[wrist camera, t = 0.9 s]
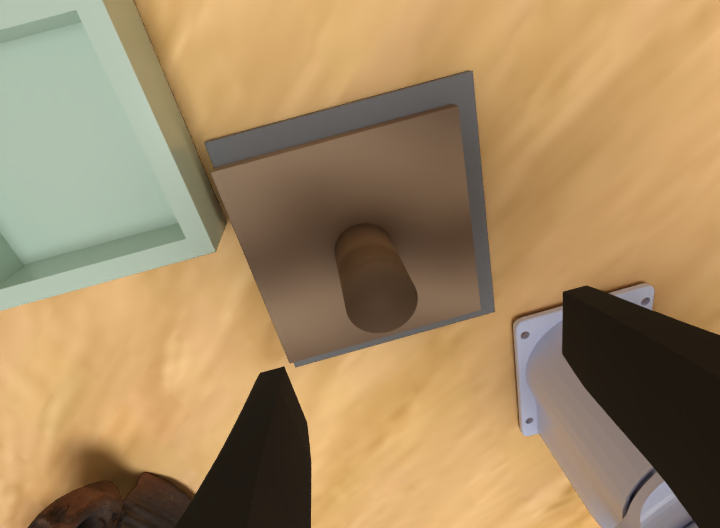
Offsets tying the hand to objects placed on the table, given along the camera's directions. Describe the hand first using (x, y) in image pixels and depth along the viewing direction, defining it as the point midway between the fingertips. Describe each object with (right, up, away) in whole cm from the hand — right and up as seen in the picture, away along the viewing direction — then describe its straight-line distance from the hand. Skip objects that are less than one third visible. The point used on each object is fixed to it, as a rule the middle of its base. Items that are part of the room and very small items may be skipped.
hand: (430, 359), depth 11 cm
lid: (-2, +3, +9) cm, 10 cm away
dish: (-13, +7, +6) cm, 16 cm away
